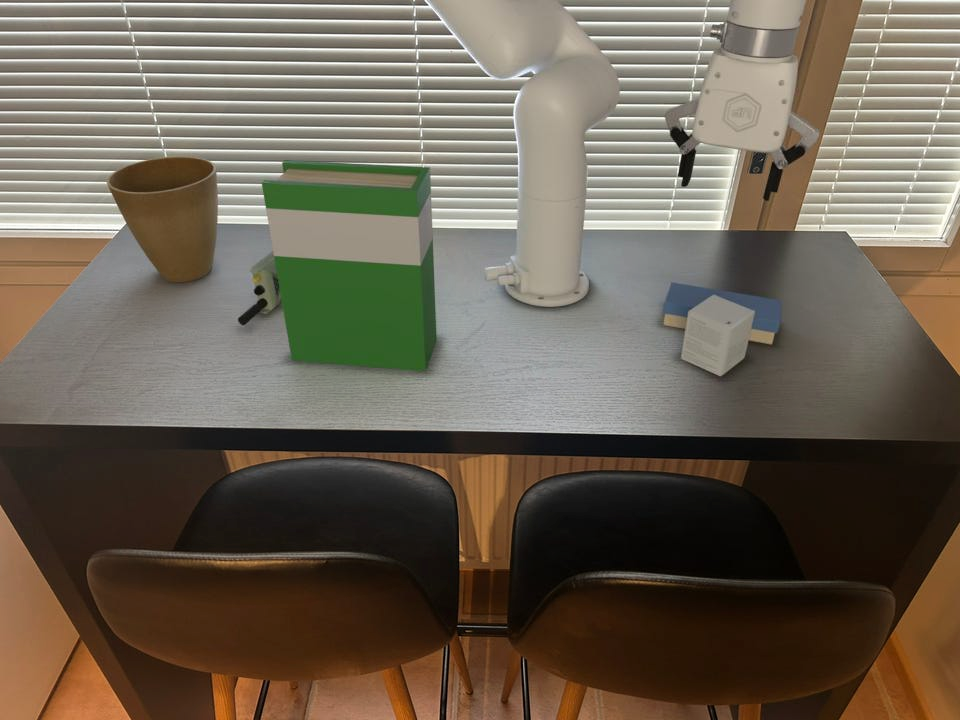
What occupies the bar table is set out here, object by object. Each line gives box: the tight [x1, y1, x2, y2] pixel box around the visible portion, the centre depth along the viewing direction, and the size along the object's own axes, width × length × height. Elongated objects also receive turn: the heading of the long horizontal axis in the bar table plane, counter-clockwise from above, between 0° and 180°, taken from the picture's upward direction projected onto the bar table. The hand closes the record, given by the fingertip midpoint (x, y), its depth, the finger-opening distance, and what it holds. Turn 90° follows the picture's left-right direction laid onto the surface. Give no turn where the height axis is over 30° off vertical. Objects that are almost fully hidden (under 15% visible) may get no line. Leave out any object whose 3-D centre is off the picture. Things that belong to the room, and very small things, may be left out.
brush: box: [662, 281, 783, 345], centre depth 104 cm, size 15×6×4 cm, turn 70°
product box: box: [680, 295, 755, 377], centre depth 96 cm, size 6×6×7 cm
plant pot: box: [106, 155, 219, 283], centre depth 114 cm, size 15×15×16 cm
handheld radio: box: [237, 250, 282, 326], centre depth 112 cm, size 7×3×25 cm
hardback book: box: [261, 159, 438, 372], centre depth 93 cm, size 18×7×24 cm, turn 82°
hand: (725, 189), depth 92 cm, fingers open, 9 cm apart
